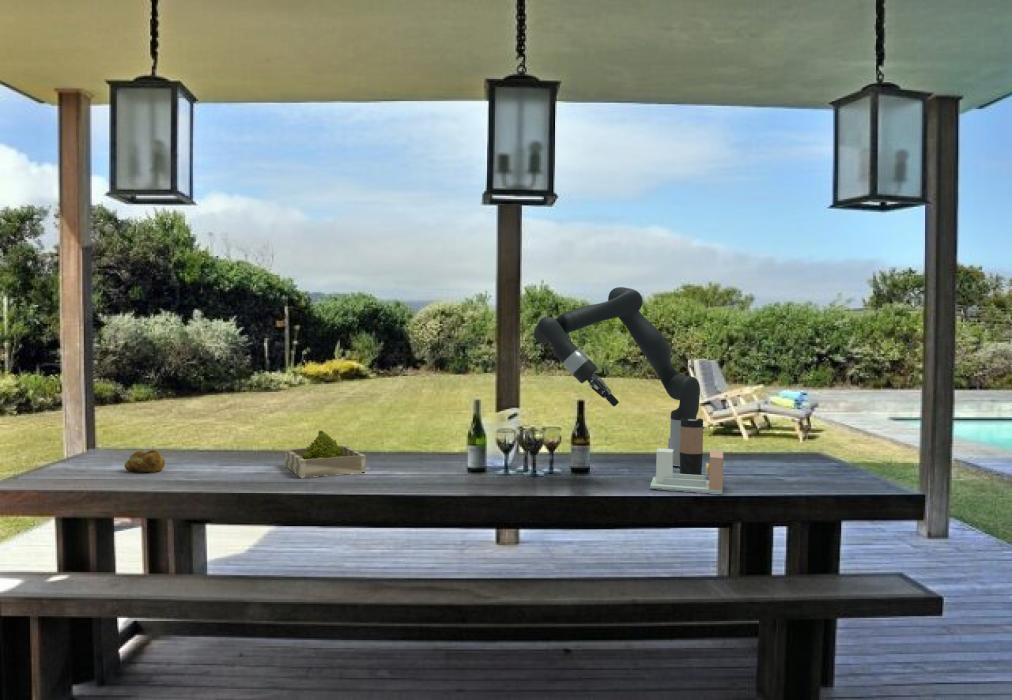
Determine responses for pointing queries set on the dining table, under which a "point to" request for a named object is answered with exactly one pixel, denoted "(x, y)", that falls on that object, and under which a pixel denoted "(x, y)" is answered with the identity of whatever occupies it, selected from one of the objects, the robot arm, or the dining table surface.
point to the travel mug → (691, 446)
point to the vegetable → (323, 448)
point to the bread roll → (145, 462)
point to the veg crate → (325, 463)
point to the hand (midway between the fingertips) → (616, 404)
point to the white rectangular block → (664, 464)
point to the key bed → (697, 477)
